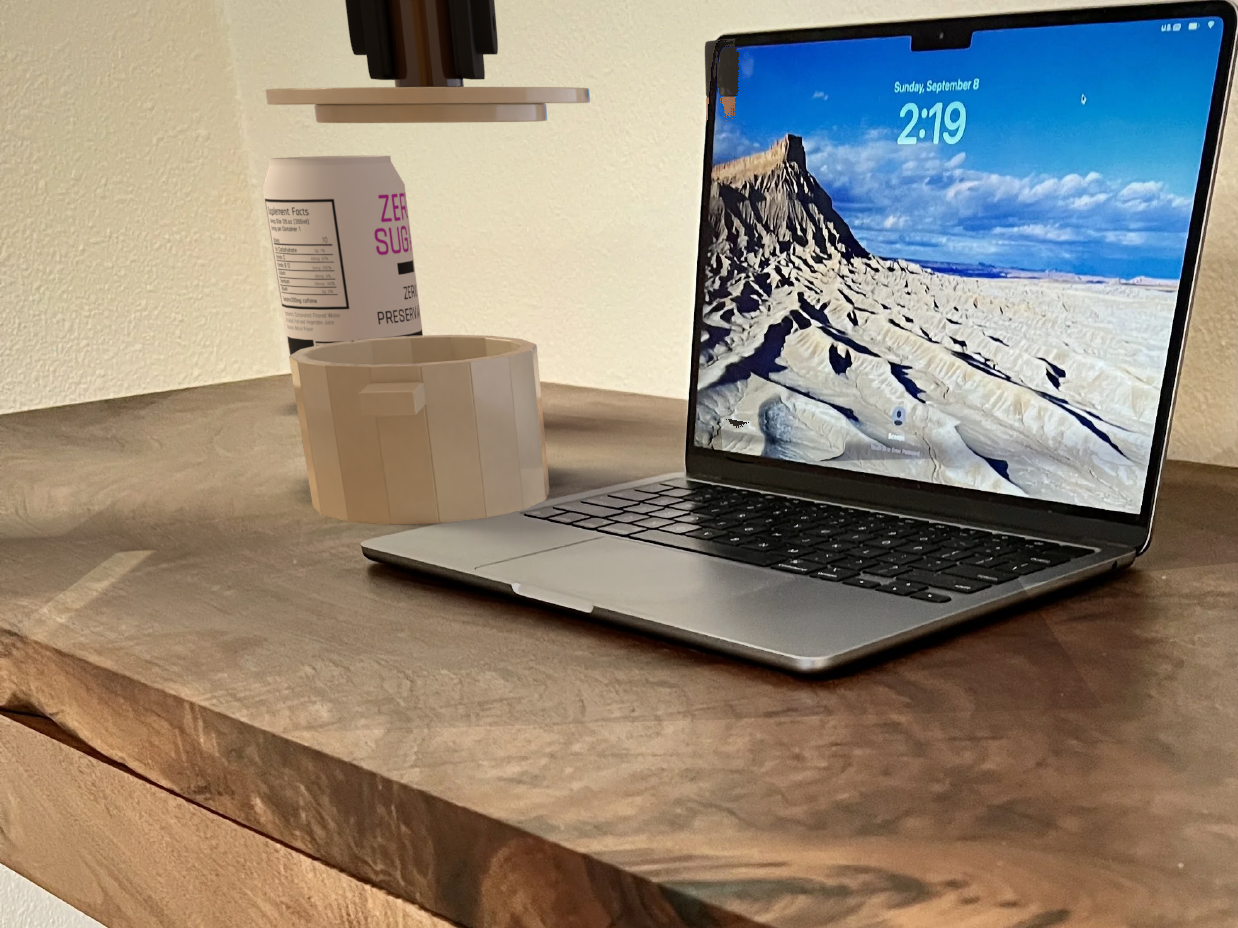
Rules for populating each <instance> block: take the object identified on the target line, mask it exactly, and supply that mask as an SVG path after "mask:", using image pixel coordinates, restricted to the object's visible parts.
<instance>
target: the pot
mask: <svg viewBox="0 0 1238 928" xmlns="http://www.w3.org/2000/svg"><path fill="white" fill-rule="evenodd" d="M538 354H539V353H538V344H537V343H534V342H531V341H528V340H526V339H523V338H518V337H517V338H515V337H507V336H497V335H483V334H482V335H480V334H427V335H425V334H423V335H422V336H400V337H385V338H371V339H360V340H352V341H344V342H335V343H328V344H322V345H317V346H313V347H308V348H304V349H300V350H298V351H297V352H295V353H293V354H292V355H290V356H289V355H288V360H289V365H290V372H291V378H292V385H293V391H294V398H295V404H296V409H297V417H298V422H299V429H300V435H301V442H302V447H303V454H304V460H305V467H306V472H307V479H308V484H309V491H310V498H311V503H312V504H311V505H312V507H313V509H315V510H316V512H317V513H319V514H320V515H321V516H323V517H328V518H332V519H336V520H341V521H344V522H350V523H364V524H378V525H419V524H421V525H422V524H442V523H443V524H444V523H453V522H454V523H455V522H461V521H469V520H470V521H471V520H479V519H487V518H493V517H498V516H502V515H507V514H511V513H516V512H519V511H524V510H527V509H530V508H531V507H534V506H536V505H538V504H540V503H542V502H545V501H547V498H548V496H549V493H550V479H549V469H548V459H547V458H548V457H547V448H546V447H547V445H546V435H545V434H546V433H545V423H544V414H543V413H544V412H543V401H542V400H543V399H542V389H541V378H540V367H539V366H540V365H539V355H538Z"/></svg>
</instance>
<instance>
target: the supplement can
mask: <svg viewBox="0 0 1238 928" xmlns="http://www.w3.org/2000/svg"><path fill="white" fill-rule="evenodd" d="M391 157H392V156H391V155H388V154H385V155H384V154H380V155H379V154H378V155H377V154H371V155H369V154H366V155H364V154H363V155H362V154H361V155H318V156H317V155H316V156H291V157H290V156H288V157H287V156H286V157H272V158H268V162H269V166H268V169H267V173H266V176H265V179H264V183H263V185H262V194H263V200H264V206H265V213H266V220H267V225H268V231H269V237H270V243H271V250H272V251H271V252H272V257H273V262H274V269H275V275H276V281H277V287H278V293H279V294H278V295H279V299H280V305H281V312H282V319H283V324H284V331H285V337H286V343H287V349H288V357H289V356H290V355H292V354H293V353H295V352H297V351H298V350H300V349H304V348H308V347H313V346H317V345H322V344H328V343H335V342H344V341H352V340H360V339H371V338H385V337H400V336H422V335H424V333H423V332H424V331H423V325H422V317H421V308H420V301H419V299H420V298H419V293H418V284H417V276H416V275H417V274H416V267H415V259H414V250H413V242H412V233H411V225H410V217H409V209H408V202H407V194H406V193H407V192H406V186H405V185H406V184H405V182H404V181H403V180H402V178H401V176H400V174H399V172H398V170H397V169H396V167H395V165H394V164H393V161H392V158H391Z"/></svg>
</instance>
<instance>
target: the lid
mask: <svg viewBox="0 0 1238 928" xmlns="http://www.w3.org/2000/svg"><path fill="white" fill-rule="evenodd" d="M386 8H387V17H388V26H389V35H390V44H391V53H392V62H393V71H394V80H393V81H394V86H385V87H384V86H376V87H375V86H372V87H371V86H370V87H369V86H368V87H367V86H366V87H363V86H362V87H359V86H358V87H355V86H354V87H293V88H287V87H286V88H267V89H265V96H266V97H265V99H266V103H267V105H268V106H314V107H313V109H314V114H315V121H316V123H318V124H436V123H437V124H439V123H440V124H441V123H442V124H443V123H444V124H446V123H447V124H450V123H451V124H452V123H453V124H454V123H456V124H457V123H529V122H530V123H531V122H534V123H536V122H539V123H540V122H547V121H548V108H547V105H558V104H559V105H562V104H565V105H566V104H567V105H568V104H570V105H571V104H590V102H591V98H590V88H588V87H573V86H572V87H571V86H570V87H569V86H568V87H567V86H566V87H565V86H465V83H464V79H462V77H461V75H457V74H456V70H455V62H454V51H453V41H452V30H451V20H450V9H449V0H386Z"/></svg>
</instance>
